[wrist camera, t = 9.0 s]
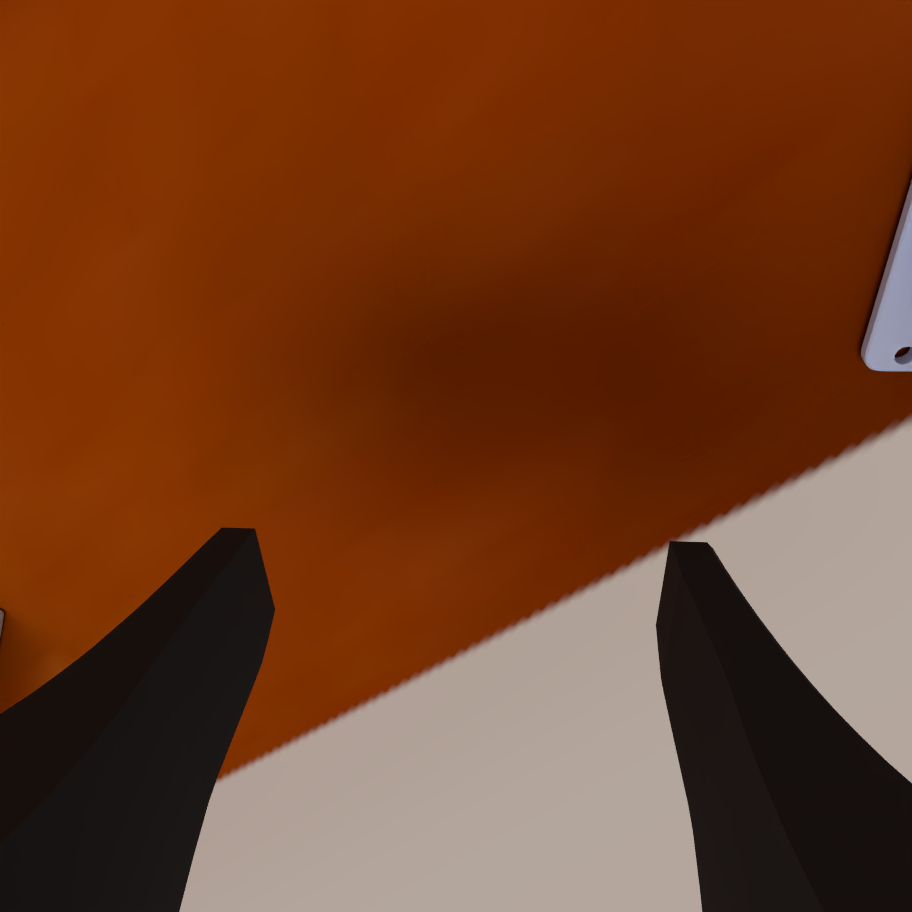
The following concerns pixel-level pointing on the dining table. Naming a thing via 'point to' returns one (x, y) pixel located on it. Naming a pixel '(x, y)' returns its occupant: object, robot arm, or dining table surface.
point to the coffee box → (1, 620)
